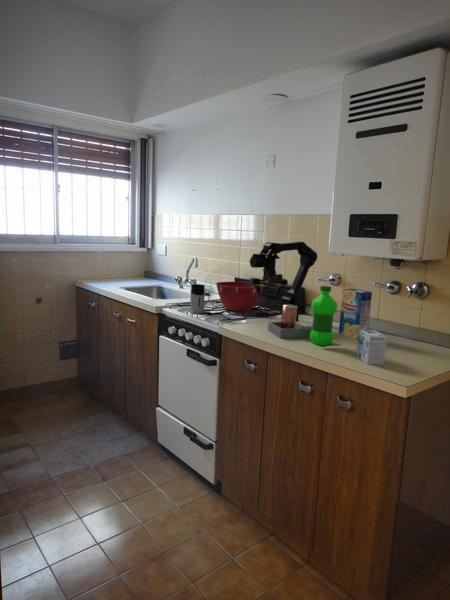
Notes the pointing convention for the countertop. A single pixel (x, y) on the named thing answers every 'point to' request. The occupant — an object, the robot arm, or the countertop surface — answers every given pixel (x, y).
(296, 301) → the robot arm
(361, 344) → the light bulb box
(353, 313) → the blue food box
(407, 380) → the countertop surface
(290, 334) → the tote
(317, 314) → the plastic bottle
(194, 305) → the grey handled cylinder
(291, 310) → the tin can
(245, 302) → the mixing bowl
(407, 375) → the countertop surface
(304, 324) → the egg carton
